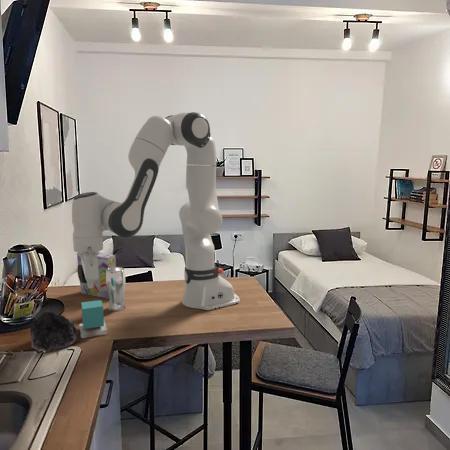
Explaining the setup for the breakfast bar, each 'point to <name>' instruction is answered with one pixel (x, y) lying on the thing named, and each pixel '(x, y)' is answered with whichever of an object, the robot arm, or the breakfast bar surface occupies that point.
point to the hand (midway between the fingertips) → (90, 286)
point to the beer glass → (115, 288)
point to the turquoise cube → (92, 314)
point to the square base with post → (93, 331)
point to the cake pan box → (100, 284)
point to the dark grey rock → (52, 332)
